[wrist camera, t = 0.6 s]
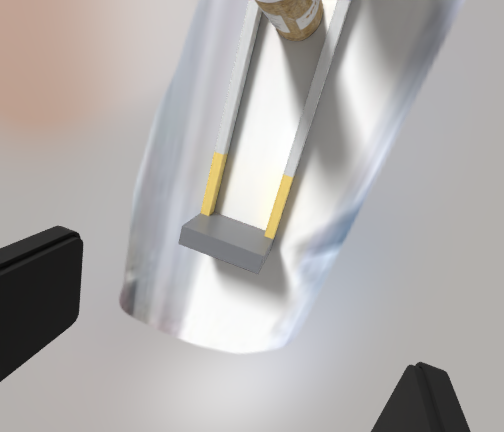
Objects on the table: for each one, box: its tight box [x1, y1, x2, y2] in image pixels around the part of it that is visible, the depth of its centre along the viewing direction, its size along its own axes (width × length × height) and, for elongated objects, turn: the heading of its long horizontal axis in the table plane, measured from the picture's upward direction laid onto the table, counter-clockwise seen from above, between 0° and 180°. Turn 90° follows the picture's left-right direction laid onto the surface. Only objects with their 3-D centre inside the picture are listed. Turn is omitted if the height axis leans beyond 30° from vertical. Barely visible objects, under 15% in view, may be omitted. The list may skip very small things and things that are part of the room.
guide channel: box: [179, 0, 351, 274], centre depth 30 cm, size 27×8×6 cm, turn 164°
